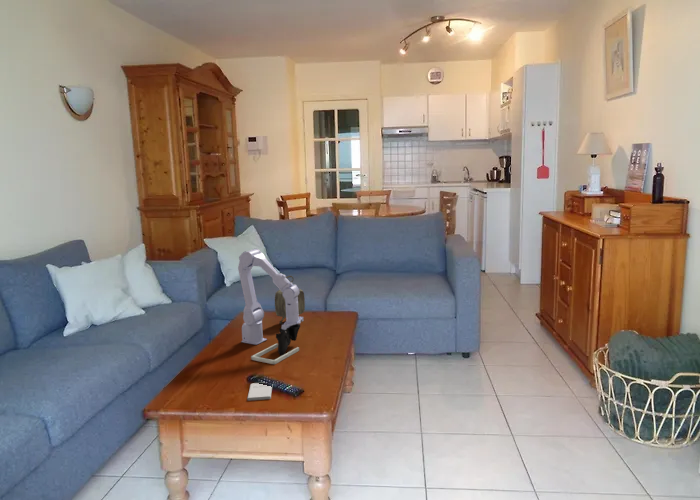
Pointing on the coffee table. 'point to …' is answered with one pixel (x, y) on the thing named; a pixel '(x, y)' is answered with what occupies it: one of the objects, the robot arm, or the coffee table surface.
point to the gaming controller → (283, 340)
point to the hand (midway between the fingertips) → (293, 340)
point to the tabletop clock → (281, 306)
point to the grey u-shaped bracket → (258, 358)
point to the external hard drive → (259, 392)
